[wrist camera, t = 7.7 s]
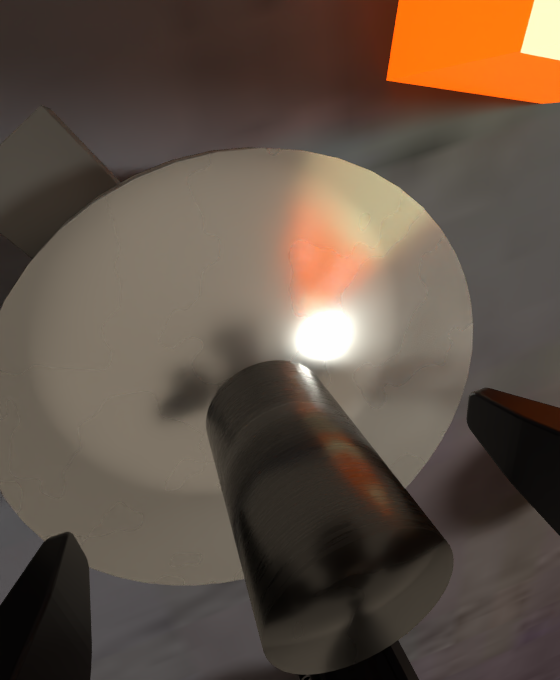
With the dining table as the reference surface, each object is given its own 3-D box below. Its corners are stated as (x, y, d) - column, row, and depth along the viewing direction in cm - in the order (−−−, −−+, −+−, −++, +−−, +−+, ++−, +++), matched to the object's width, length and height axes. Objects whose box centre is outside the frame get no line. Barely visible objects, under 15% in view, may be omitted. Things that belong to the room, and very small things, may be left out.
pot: (239, 485, 21) (275, 600, 16) (-81, 266, 13) (-226, 355, 8) (405, 342, 20) (498, 413, 15) (180, 17, 12) (217, -73, 7)
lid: (235, 600, 15) (290, 842, 10) (-152, 425, 8) (-589, 870, 3) (500, 376, 14) (707, 510, 9) (301, 0, 8) (634, -266, 3)
